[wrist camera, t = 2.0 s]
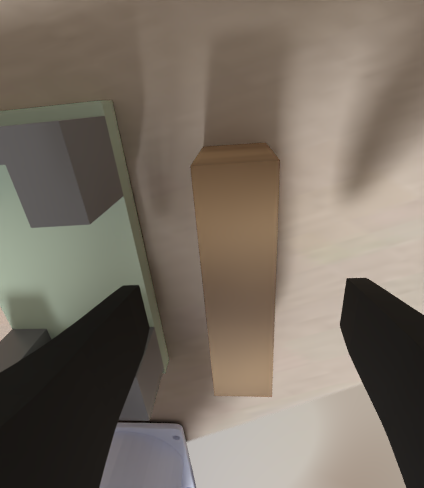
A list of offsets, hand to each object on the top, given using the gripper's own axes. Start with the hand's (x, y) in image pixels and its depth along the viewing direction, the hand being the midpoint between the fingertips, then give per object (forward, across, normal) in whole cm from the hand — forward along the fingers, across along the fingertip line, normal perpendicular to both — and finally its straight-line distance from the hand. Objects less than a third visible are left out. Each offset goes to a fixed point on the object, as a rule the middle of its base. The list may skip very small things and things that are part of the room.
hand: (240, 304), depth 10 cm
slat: (+4, 0, 0) cm, 4 cm away
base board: (+4, +9, 0) cm, 9 cm away
